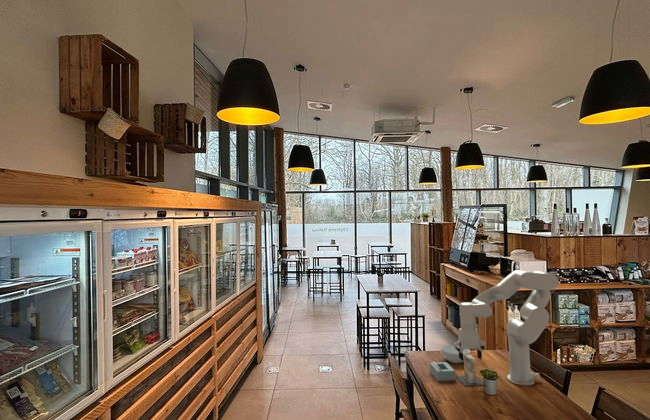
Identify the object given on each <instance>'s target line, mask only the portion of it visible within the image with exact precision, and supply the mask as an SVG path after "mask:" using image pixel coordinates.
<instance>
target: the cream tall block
mask: <svg viewBox="0 0 650 420" xmlns="http://www.w3.org/2000/svg"><path fill="white" fill-rule="evenodd" d="M463 370H464V376H465V378H466V379H467V380H468V381H469V382H470V383H476V376H477V365H476V358H475V357H473V356H472V355H471V354H470V355H464V362H463Z"/></svg>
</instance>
